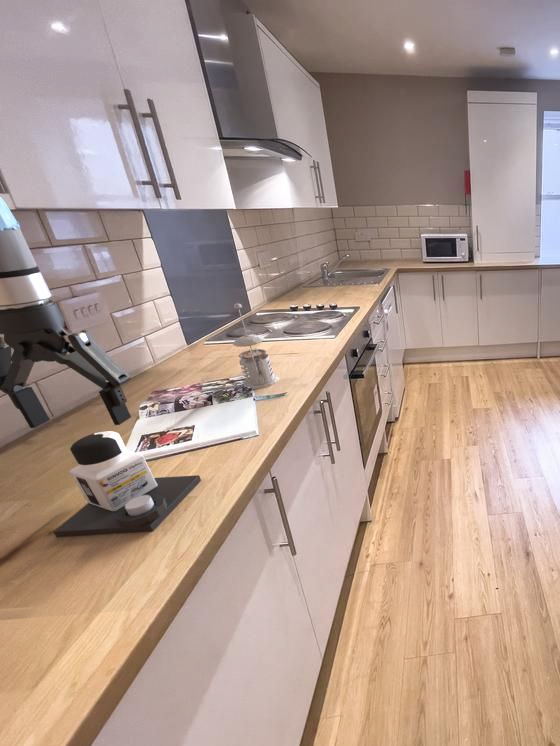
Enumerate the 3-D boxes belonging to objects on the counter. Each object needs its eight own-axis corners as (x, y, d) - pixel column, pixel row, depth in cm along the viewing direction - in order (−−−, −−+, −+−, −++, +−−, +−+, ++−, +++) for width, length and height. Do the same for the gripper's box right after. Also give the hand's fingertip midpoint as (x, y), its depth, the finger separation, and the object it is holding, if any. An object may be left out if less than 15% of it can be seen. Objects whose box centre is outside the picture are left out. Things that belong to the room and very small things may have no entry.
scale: (55, 538, 71) (46, 525, 69) (120, 485, 84) (113, 473, 82) (153, 532, 72) (146, 519, 70) (202, 480, 85) (197, 468, 83)
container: (114, 512, 74) (80, 454, 69) (87, 503, 77) (52, 446, 71) (159, 486, 81) (131, 430, 75) (132, 478, 83) (104, 423, 78)
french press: (274, 373, 134) (252, 297, 123) (283, 384, 126) (261, 304, 115) (240, 381, 128) (214, 303, 117) (247, 394, 120) (220, 311, 109)
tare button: (123, 517, 72) (119, 509, 71) (138, 503, 75) (134, 495, 74) (145, 515, 72) (141, 508, 71) (159, 501, 75) (155, 494, 74)
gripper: (124, 296, 67) (171, 409, 76) (-42, 298, 65) (26, 414, 74) (85, 308, 60) (141, 431, 69) (-102, 311, 58) (-19, 436, 67)
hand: (82, 422), depth 72 cm, fingers open, 13 cm apart
